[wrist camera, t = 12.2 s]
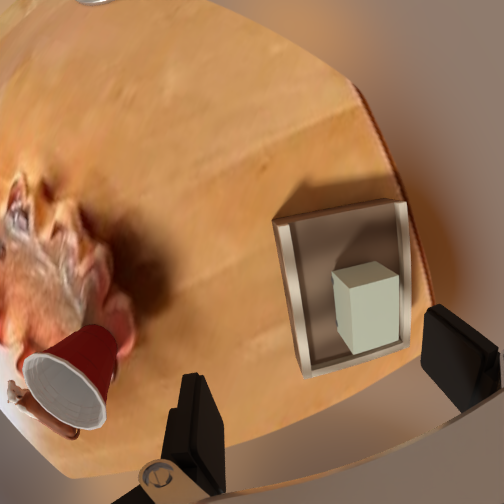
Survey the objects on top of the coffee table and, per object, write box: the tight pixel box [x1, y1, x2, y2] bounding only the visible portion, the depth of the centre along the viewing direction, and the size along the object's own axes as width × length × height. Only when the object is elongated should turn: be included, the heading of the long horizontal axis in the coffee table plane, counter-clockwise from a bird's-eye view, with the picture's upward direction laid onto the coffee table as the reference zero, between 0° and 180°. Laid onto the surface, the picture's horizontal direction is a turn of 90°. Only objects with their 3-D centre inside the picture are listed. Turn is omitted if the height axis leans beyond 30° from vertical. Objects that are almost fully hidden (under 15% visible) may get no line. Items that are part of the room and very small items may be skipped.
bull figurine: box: [7, 380, 80, 440], centre depth 33 cm, size 4×13×8 cm, turn 50°
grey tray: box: [272, 198, 411, 379], centre depth 33 cm, size 18×14×5 cm
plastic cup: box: [22, 324, 117, 430], centre depth 30 cm, size 11×11×12 cm
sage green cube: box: [331, 261, 399, 355], centre depth 29 cm, size 7×5×6 cm
